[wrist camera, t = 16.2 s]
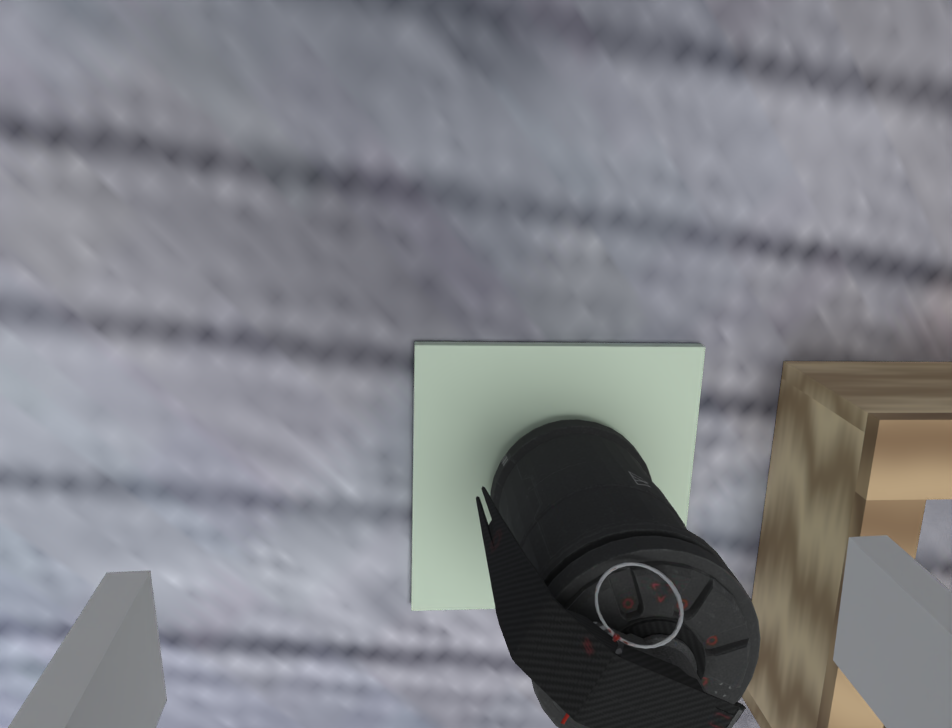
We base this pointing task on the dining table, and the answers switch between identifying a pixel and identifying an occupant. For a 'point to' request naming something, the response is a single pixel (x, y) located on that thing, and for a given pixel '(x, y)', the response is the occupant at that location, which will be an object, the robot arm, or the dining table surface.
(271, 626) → the dining table surface
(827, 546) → the crate
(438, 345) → the board
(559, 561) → the black shaker bottle
